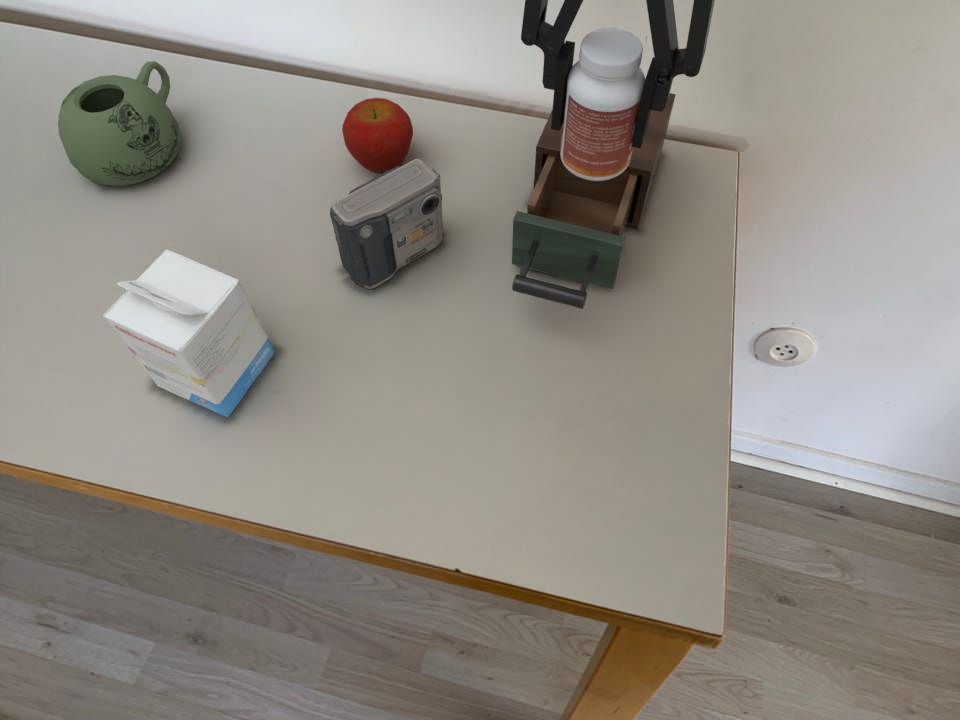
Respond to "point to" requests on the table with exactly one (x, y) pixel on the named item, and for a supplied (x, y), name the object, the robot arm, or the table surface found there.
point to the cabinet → (640, 163)
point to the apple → (378, 134)
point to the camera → (388, 222)
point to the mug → (119, 128)
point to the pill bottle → (602, 105)
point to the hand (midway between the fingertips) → (599, 127)
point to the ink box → (192, 331)
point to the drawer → (571, 232)
